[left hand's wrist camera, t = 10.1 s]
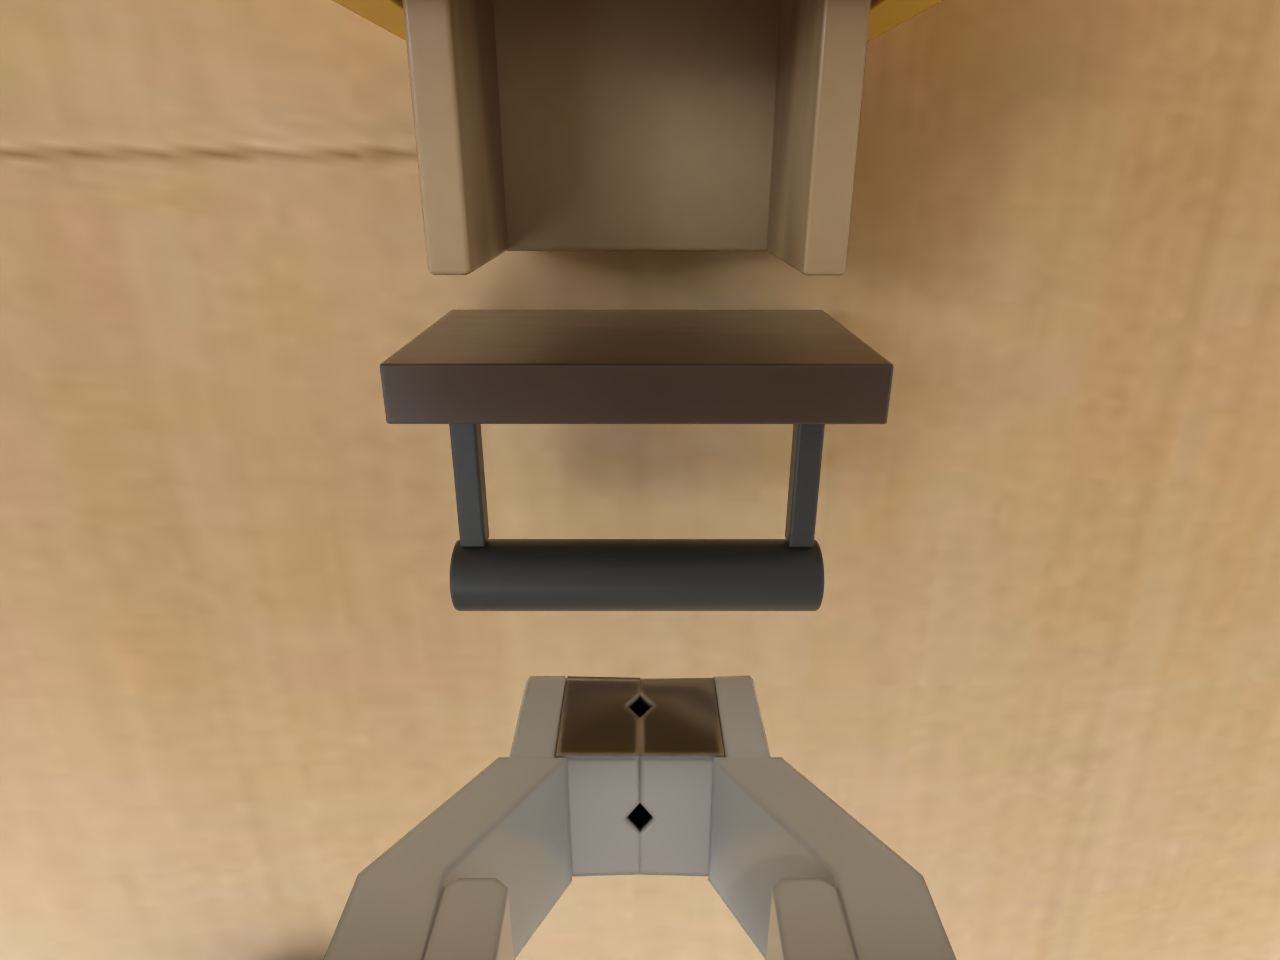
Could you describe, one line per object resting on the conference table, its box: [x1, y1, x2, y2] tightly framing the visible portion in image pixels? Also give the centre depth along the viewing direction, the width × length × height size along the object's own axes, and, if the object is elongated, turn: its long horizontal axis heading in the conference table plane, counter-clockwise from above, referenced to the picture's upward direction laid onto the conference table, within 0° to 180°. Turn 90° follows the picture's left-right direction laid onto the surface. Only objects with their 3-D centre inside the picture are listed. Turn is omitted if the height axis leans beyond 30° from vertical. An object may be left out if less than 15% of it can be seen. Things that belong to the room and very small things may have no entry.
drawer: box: [380, 0, 893, 611], centre depth 16 cm, size 20×10×6 cm, turn 0°
